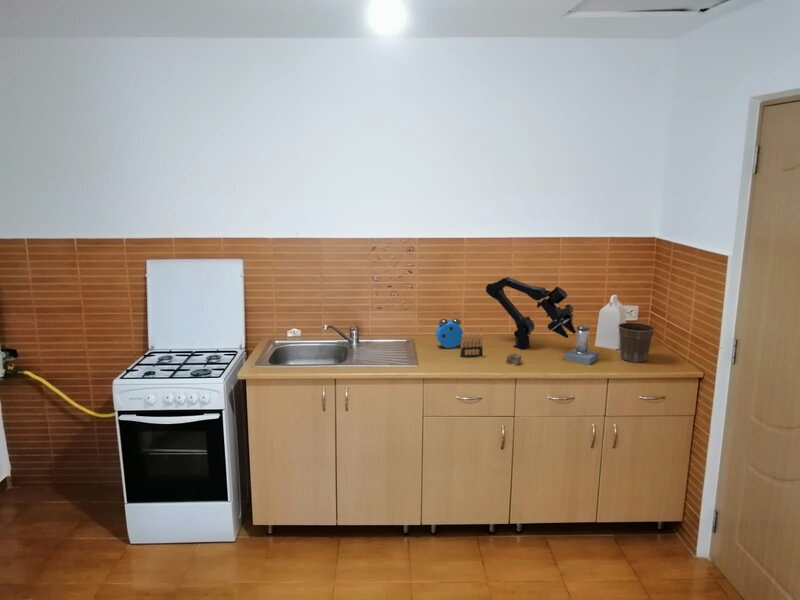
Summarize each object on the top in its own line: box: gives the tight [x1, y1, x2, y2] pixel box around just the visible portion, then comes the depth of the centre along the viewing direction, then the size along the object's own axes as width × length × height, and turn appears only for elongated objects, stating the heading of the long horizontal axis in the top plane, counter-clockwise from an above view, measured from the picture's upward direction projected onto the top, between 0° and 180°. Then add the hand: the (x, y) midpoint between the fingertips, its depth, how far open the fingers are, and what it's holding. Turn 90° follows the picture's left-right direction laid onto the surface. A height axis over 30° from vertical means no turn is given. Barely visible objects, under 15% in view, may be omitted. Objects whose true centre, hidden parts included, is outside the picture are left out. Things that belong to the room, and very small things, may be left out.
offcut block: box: [506, 352, 522, 366], centre depth 282 cm, size 5×5×4 cm
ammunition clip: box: [459, 332, 483, 358], centre depth 291 cm, size 11×2×12 cm, turn 98°
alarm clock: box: [435, 317, 464, 349], centre depth 305 cm, size 13×6×15 cm, turn 100°
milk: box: [594, 294, 627, 350], centre depth 308 cm, size 12×12×26 cm
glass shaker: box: [575, 324, 591, 355], centre depth 286 cm, size 6×6×13 cm
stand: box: [564, 347, 600, 366], centre depth 288 cm, size 12×12×3 cm
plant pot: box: [618, 322, 656, 363], centre depth 287 cm, size 16×16×16 cm
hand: (571, 335), depth 289 cm, fingers open, 9 cm apart
